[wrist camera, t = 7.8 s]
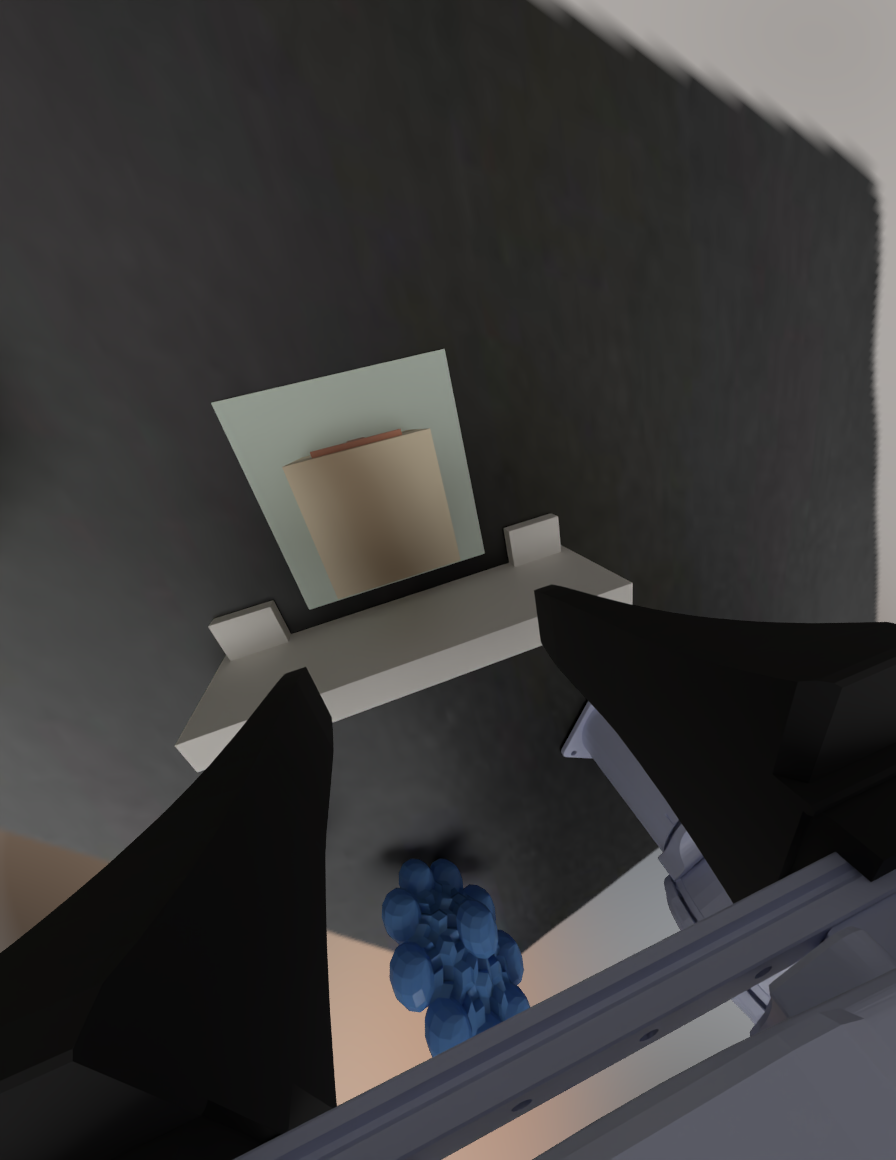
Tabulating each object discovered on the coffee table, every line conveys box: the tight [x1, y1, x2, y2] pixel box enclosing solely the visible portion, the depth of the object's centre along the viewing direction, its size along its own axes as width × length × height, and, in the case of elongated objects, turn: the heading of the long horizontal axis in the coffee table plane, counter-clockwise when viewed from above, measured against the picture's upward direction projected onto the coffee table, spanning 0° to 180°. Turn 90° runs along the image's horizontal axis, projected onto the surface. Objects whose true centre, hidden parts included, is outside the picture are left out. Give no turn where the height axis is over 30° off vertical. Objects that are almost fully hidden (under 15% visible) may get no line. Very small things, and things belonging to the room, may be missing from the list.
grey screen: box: [175, 513, 633, 772], centre depth 18 cm, size 20×6×6 cm, turn 103°
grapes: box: [382, 858, 530, 1058], centre depth 25 cm, size 12×7×12 cm, turn 55°
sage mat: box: [211, 349, 485, 610], centre depth 17 cm, size 10×10×1 cm
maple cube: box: [282, 428, 461, 600], centre depth 15 cm, size 5×5×5 cm
